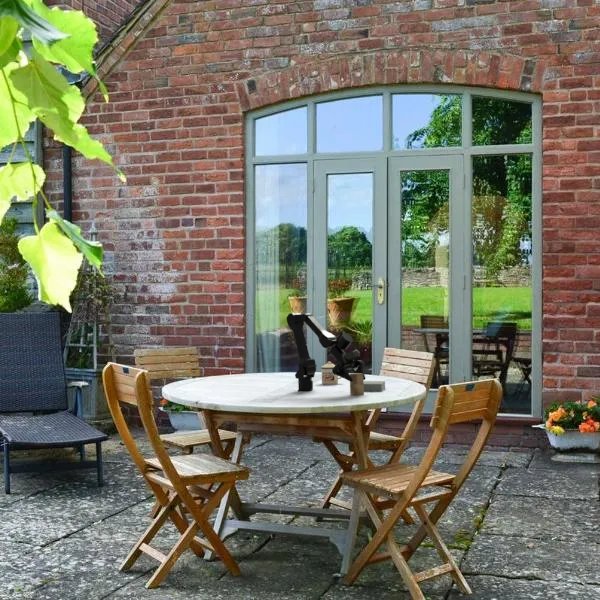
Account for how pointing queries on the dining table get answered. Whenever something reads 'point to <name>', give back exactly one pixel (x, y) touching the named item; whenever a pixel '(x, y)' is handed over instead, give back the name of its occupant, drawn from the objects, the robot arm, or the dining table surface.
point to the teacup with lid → (329, 374)
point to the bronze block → (357, 384)
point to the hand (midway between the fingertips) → (358, 380)
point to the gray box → (374, 385)
